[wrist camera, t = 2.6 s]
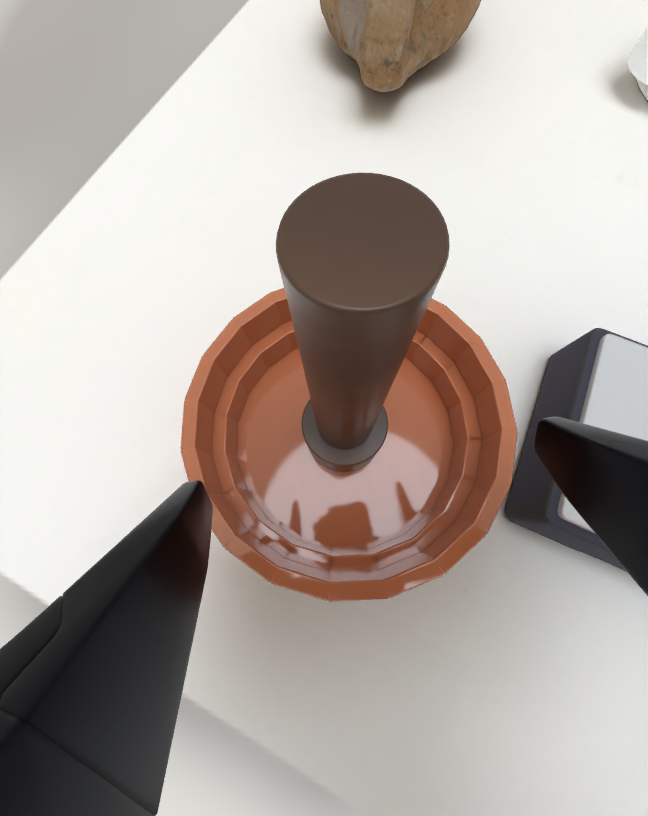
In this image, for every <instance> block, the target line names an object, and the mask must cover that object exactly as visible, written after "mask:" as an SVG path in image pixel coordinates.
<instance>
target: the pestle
mask: <svg viewBox="0 0 648 816" xmlns="http://www.w3.org/2000/svg"><path fill="white" fill-rule="evenodd" d="M276 253H277V259H278V263H279V268H280V272H281V276H282V280H283V284H284V289H285V293H286V297H287V301H288V306H289V310H290V314H291V318H292V322H293V327H294V331H295V335H296V339H297V343H298V348H299V352H300V356H301V360H302V364H303V369H304V373H305V377H306V381H307V385H308V390H309V394H310V400H309V401H308V403H307V405H306V406H305V409H304V411H303V415H302V432H303V436H304V439H305V441H306V443H307V446H308V448H309V450H310V452H311V454H312V455H313V457H314V458H315V459H316V460H317V461H318V462H319V463H320V464H321V465H323V466H324V467H326V468H328V469H330V470H333V471H337V472H351V471H355V470H358V469H360V468H362V467H364V466H365V465H367V464H368V463H369V462H370V461H371V460H372V459H373V458H374V457H375V455H376V454H377V452H378V451H379V450H380V448H381V447H382V445H383V443H384V441H385V439H386V436H387V431H388V418H387V413H386V410H385V408H384V406H383V404H384V402H385V400H386V397H387V395H388V393H389V391H390V388H391V386H392V384H393V382H394V380H395V377H396V375H397V373H398V371H399V368H400V366H401V364H402V362H403V360H404V357H405V355H406V353H407V351H408V348H409V346H410V344H411V342H412V340H413V337H414V335H415V333H416V331H417V328H418V326H419V324H420V322H421V320H422V317H423V315H424V313H425V311H426V308H427V306H428V304H429V302H430V300H431V297H432V295H433V293H434V291H435V288H436V286H437V284H438V282H439V280H440V277H441V275H442V273H443V271H444V269H445V266H446V263H447V260H448V255H449V235H448V230H447V226H446V223H445V220H444V218H443V216H442V214H441V212H440V211H439V209H438V208H437V206H436V205H435V204H434V202H433V201H432V200H431V199H430V198H429V197H428V196H427V195H426V194H424V193H423V192H422V191H420V190H419V189H418V188H416V187H414V186H412V185H411V184H409V183H407V182H405V181H402V180H400V179H397V178H394V177H391V176H386V175H382V174H375V173H351V174H345V175H339V176H336V177H332V178H329V179H326V180H324V181H321V182H319V183H317V184H315V185H314V186H312V187H310V188H309V189H307V190H306V191H304V192H303V193H302V194H301V195H299V196H298V197H297V198H296V199H295V200H294V201H293V203H292V204H291V205H290V206H289V208H288V209H287V211H286V212H285V214H284V216H283V218H282V220H281V222H280V225H279V229H278V232H277V238H276Z"/></svg>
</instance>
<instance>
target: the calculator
mask: <svg viewBox="0 0 648 816" xmlns="http://www.w3.org/2000/svg"><path fill="white" fill-rule="evenodd" d="M549 417H561V418H565V419H568V420H572V421H576V422H580V423H583V424H587V425H591V426H595V427H598V428H602V429H606V430H609V431H613V432H617V433H621V434H624V435H628V436H632V437H635V438H639V439H643V440H647V441H648V346H647V345H644V344H641V343H639V342H636V341H634V340H631V339H628V338H626V337H623V336H620V335H618V334H615V333H612V332H610V331H607V330H604V329H601V328H595V329H593V330H591V331H590V332H588V333H586V334H585V335H583V336H582V337H580V338H578V339H577V340H575V341H574V342H572V343H570V344H569V345H567V346H566V347H564V348H562V349H561V350H559V351H558V352H556V353H555V354H553V355H552V356H551V357H550V359H549V362H548V366H547V369H546V373H545V376H544V379H543V383H542V386H541V390H540V393H539V397H538V400H537V403H536V407H535V410H534V414H533V417H532V421H531V424H530V427H529V431H528V434H527V438H526V441H525V445H524V448H523V451H522V455H521V458H520V462H519V465H518V468H517V472H516V475H515V479H514V482H513V486H512V489H511V492H510V496H509V499H508V503H507V506H506V511H505V513H506V516H507V518H508V519H509V520H511V521H512V522H515V523H517V524H519V525H521V526H523V527H525V528H528V529H530V530H532V531H534V532H537V533H539V534H541V535H543V536H545V537H548V538H550V539H552V540H554V541H557V542H559V543H561V544H563V545H566V546H568V547H570V548H573V549H575V550H578V551H581V552H584V553H586V554H589V555H592V556H594V557H597V558H599V559H601V560H604V561H606V562H608V563H610V564H612V565H615V566H617V567H619V568H621V569H624V570H626V569H625V568H624V567H623V566H622V565H621V563H620V562H619V561H618V560H617V559H616V558H615V556H614V555H613V554H612V553H611V552H610V550H609V549H608V548H607V547H606V546H605V544H604V543H603V542H602V541H601V540H600V538H599V537H598V536H597V535H596V534H595V532H594V531H593V530H592V529H591V528H590V527H589V525H588V524H587V523H586V522H585V521H584V519H583V518H582V517H581V516H580V515H579V513H578V512H577V511H576V510H575V509H574V507H573V506H572V505H571V504H570V502H569V501H568V500H567V498H566V497H565V496H564V494H563V493H562V491H561V490H560V489H559V487H558V486H557V484H556V483H555V481H554V480H553V478H552V477H551V475H550V474H549V472H548V471H547V469H546V468H545V467H544V465H543V464H542V462H541V461H540V459H539V458H538V456H537V455H536V453H535V451H534V439H535V433H536V428H537V424H538V422H539V420H541V419H544V418H549Z"/></svg>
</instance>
